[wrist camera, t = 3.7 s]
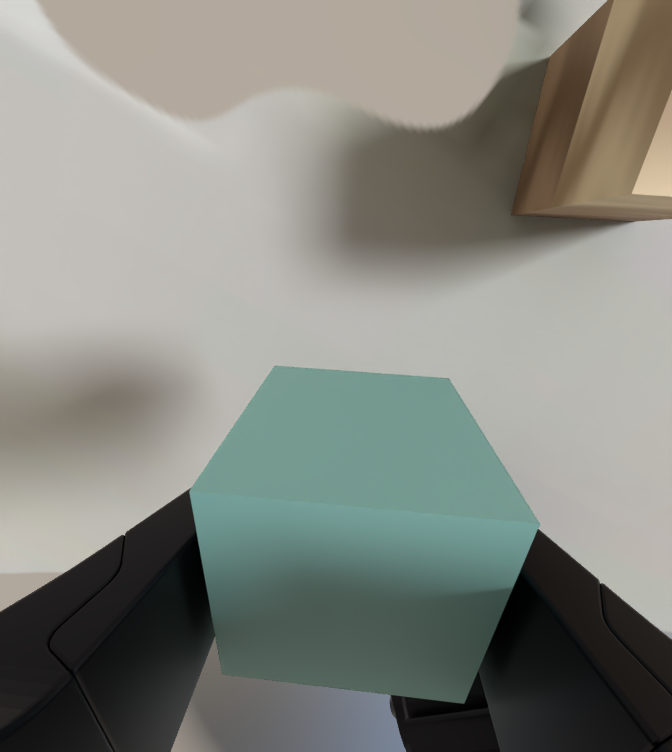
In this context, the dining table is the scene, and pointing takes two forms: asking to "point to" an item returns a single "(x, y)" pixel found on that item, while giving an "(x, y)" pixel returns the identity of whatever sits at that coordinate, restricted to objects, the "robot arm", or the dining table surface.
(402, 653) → the teal cube
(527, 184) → the tower base
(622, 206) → the tower top
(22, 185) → the dining table surface
